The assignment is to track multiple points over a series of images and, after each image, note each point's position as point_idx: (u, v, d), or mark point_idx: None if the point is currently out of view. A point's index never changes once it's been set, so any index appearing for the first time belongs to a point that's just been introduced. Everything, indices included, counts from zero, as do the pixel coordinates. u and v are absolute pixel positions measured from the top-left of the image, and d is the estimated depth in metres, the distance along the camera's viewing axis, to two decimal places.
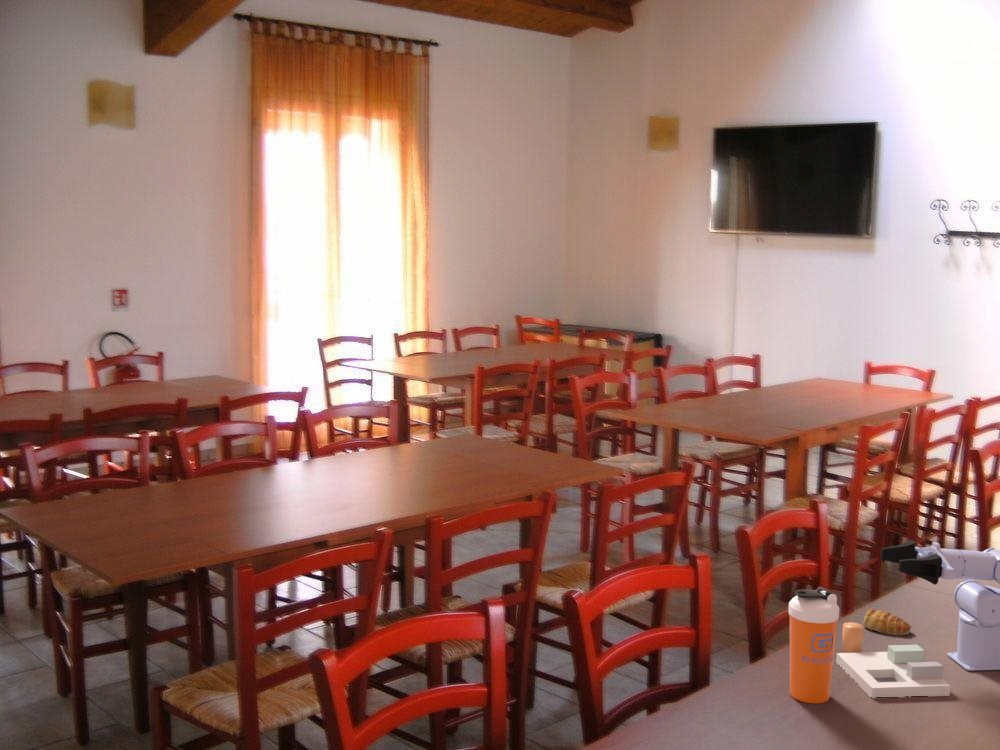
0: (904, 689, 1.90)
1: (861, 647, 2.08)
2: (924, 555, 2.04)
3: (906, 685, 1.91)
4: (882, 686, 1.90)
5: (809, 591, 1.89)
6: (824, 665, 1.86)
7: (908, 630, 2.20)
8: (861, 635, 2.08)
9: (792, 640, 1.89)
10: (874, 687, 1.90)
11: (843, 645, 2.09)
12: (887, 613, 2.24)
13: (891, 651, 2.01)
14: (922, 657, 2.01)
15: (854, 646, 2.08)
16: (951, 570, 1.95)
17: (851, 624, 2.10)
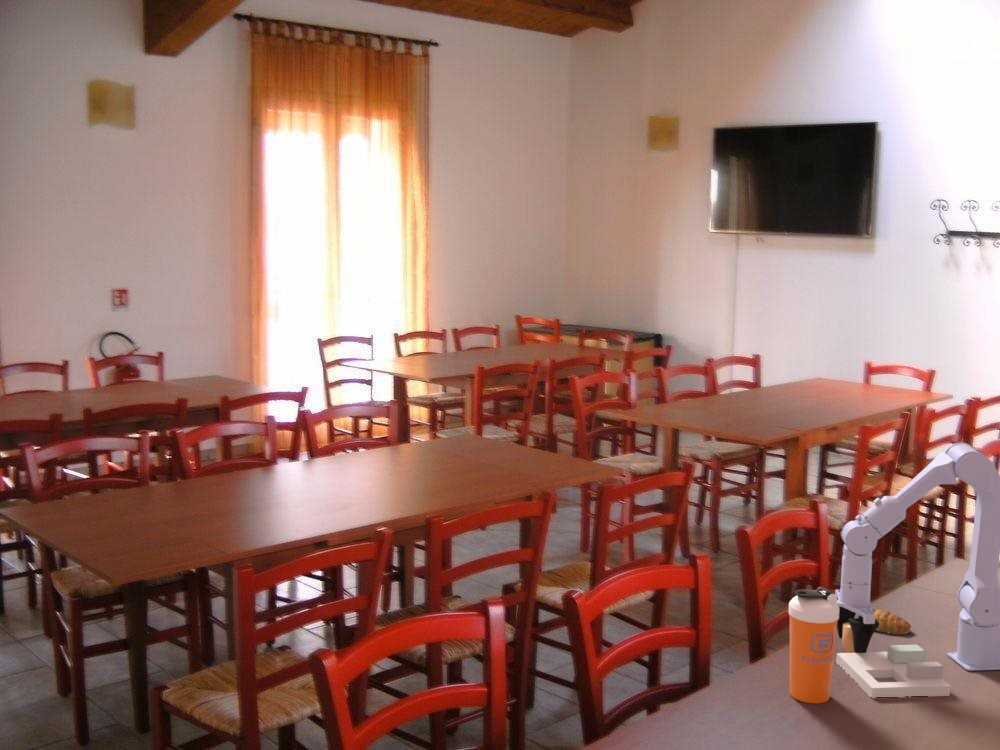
0: (904, 689, 1.90)
1: None
2: None
3: (906, 685, 1.91)
4: (882, 686, 1.90)
5: (809, 591, 1.89)
6: (824, 665, 1.86)
7: (908, 629, 2.21)
8: None
9: (792, 640, 1.89)
10: (874, 687, 1.90)
11: (843, 645, 2.09)
12: (887, 612, 2.24)
13: (891, 651, 2.01)
14: (922, 657, 2.01)
15: None
16: (866, 618, 2.01)
17: None
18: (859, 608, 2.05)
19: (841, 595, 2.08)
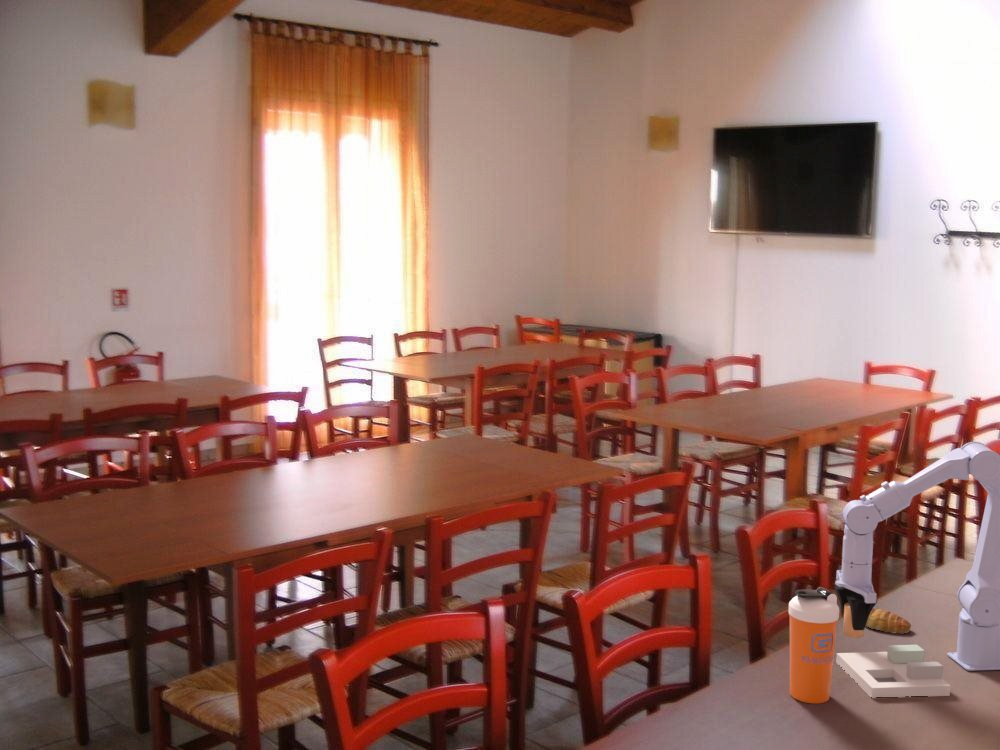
0: (904, 689, 1.90)
1: None
2: None
3: (906, 685, 1.91)
4: (882, 686, 1.90)
5: (809, 591, 1.89)
6: (824, 665, 1.86)
7: (909, 628, 2.21)
8: None
9: (792, 640, 1.89)
10: (874, 687, 1.90)
11: (844, 625, 2.09)
12: (887, 612, 2.25)
13: (891, 651, 2.01)
14: (922, 657, 2.01)
15: None
16: (867, 597, 2.01)
17: None
18: (860, 588, 2.05)
19: (842, 575, 2.08)
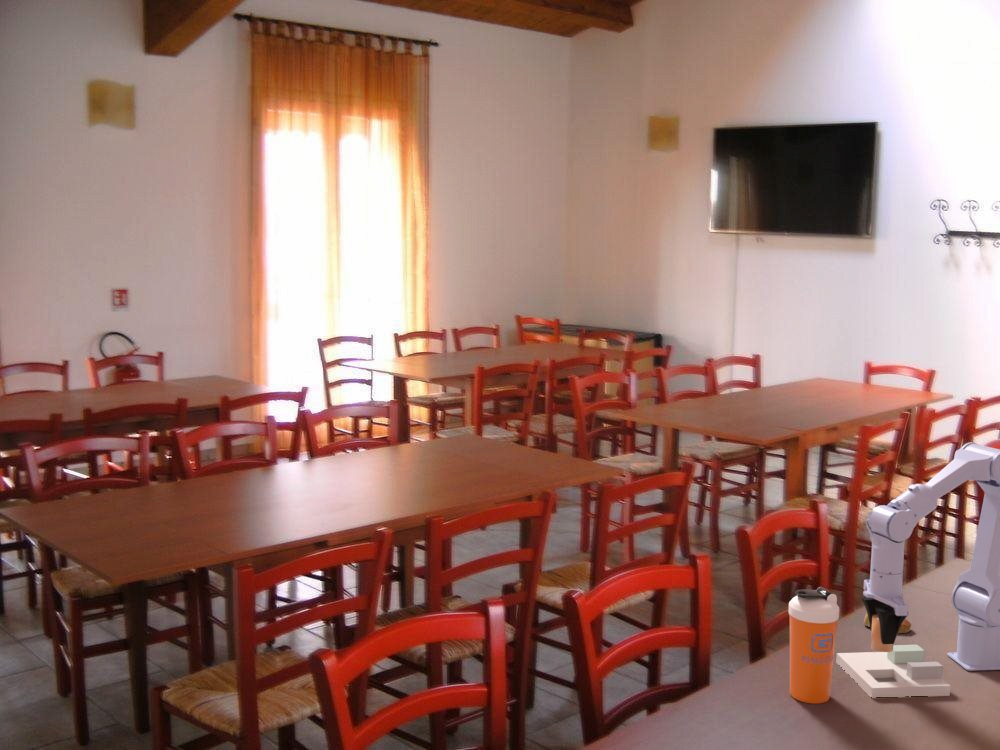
0: (904, 689, 1.90)
1: None
2: None
3: (906, 685, 1.91)
4: (882, 686, 1.90)
5: (809, 591, 1.89)
6: (824, 665, 1.86)
7: (909, 628, 2.21)
8: None
9: (792, 640, 1.89)
10: (874, 687, 1.90)
11: (872, 638, 1.96)
12: None
13: (891, 651, 2.01)
14: (922, 657, 2.01)
15: None
16: (898, 609, 1.88)
17: None
18: (890, 599, 1.92)
19: (871, 585, 1.95)
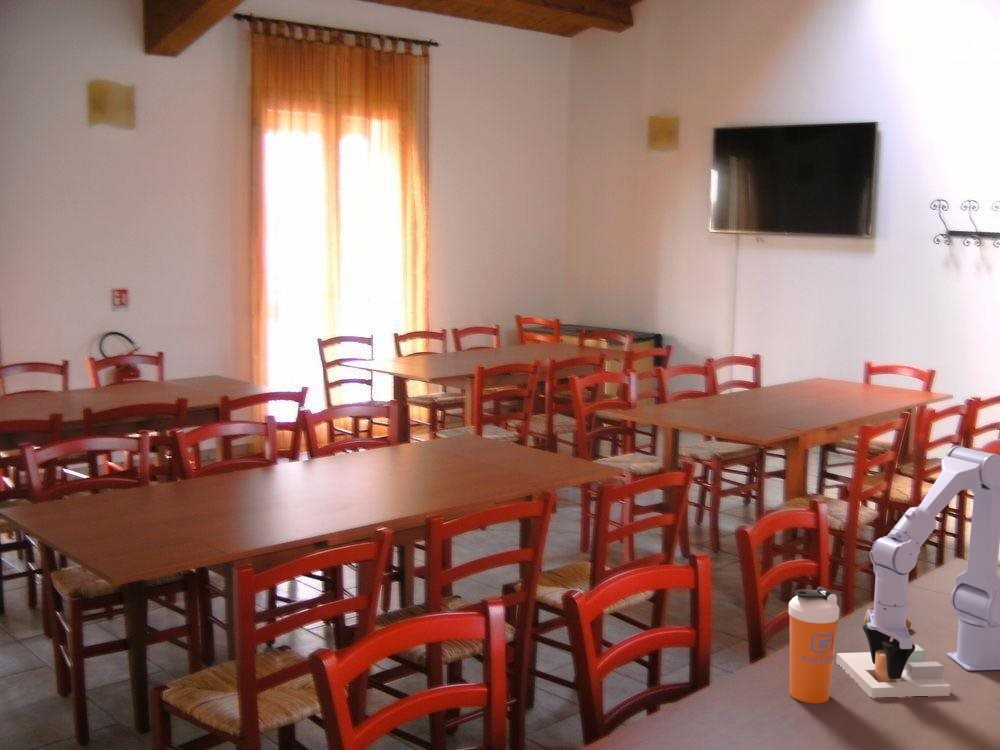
0: (904, 689, 1.90)
1: None
2: None
3: (906, 685, 1.91)
4: (882, 686, 1.90)
5: (809, 591, 1.89)
6: (824, 665, 1.86)
7: (909, 627, 2.22)
8: None
9: (792, 640, 1.89)
10: (874, 687, 1.90)
11: (876, 674, 1.95)
12: None
13: None
14: (922, 657, 2.01)
15: None
16: (903, 642, 1.86)
17: (884, 652, 1.95)
18: (894, 631, 1.90)
19: (874, 617, 1.93)
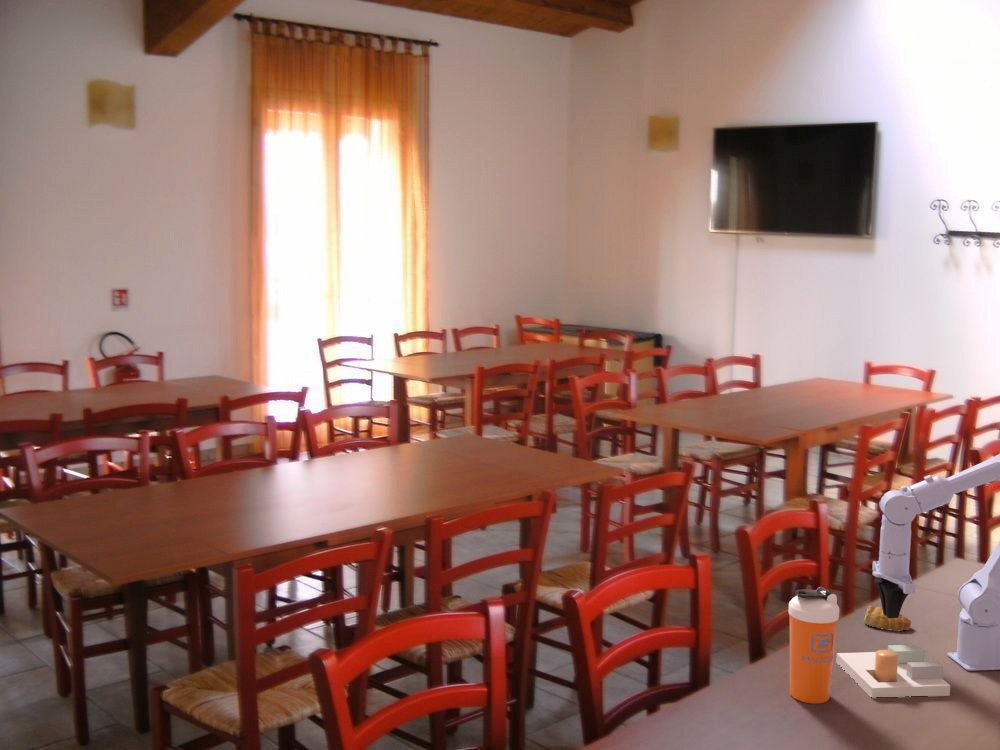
0: (904, 689, 1.90)
1: (895, 677, 1.94)
2: None
3: (906, 685, 1.91)
4: (882, 686, 1.90)
5: (809, 591, 1.89)
6: (824, 665, 1.86)
7: (909, 625, 2.23)
8: (895, 664, 1.93)
9: (792, 640, 1.89)
10: (874, 687, 1.90)
11: (876, 674, 1.95)
12: None
13: None
14: (922, 657, 2.01)
15: (888, 676, 1.93)
16: (906, 587, 2.00)
17: (884, 652, 1.95)
18: (898, 578, 2.04)
19: (880, 566, 2.06)
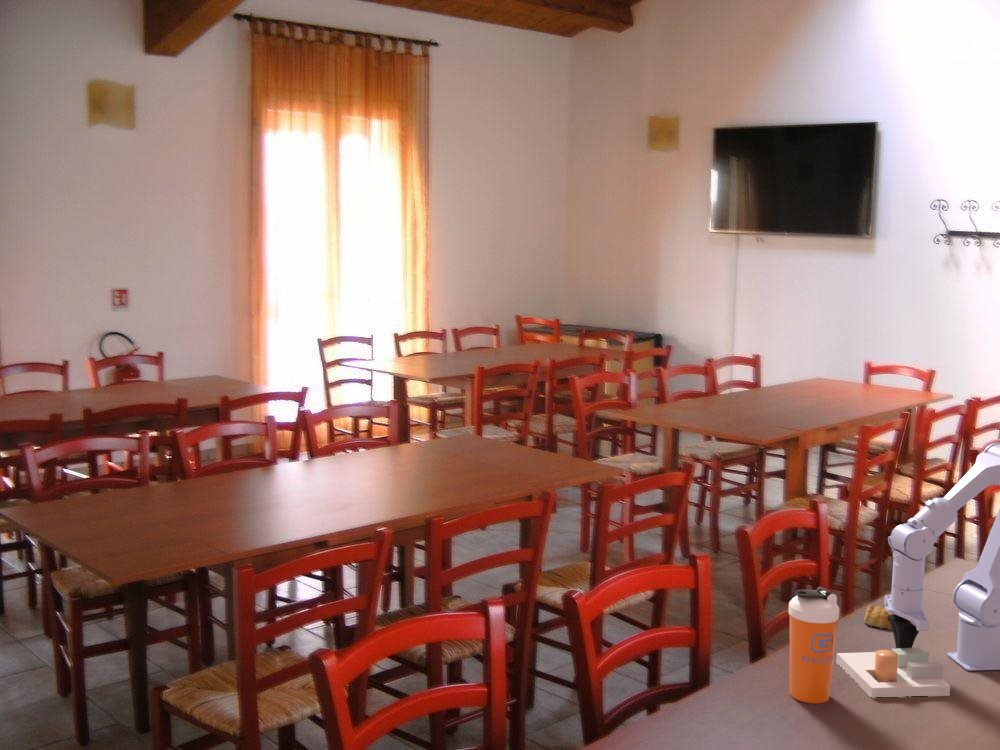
0: (904, 689, 1.90)
1: (895, 677, 1.94)
2: None
3: (906, 685, 1.91)
4: (882, 686, 1.90)
5: (809, 591, 1.89)
6: (824, 665, 1.86)
7: None
8: (895, 664, 1.93)
9: (792, 640, 1.89)
10: (874, 687, 1.90)
11: (876, 674, 1.95)
12: None
13: None
14: (926, 660, 1.99)
15: (888, 676, 1.93)
16: (920, 625, 1.94)
17: (884, 652, 1.95)
18: (911, 615, 1.98)
19: (892, 601, 2.01)
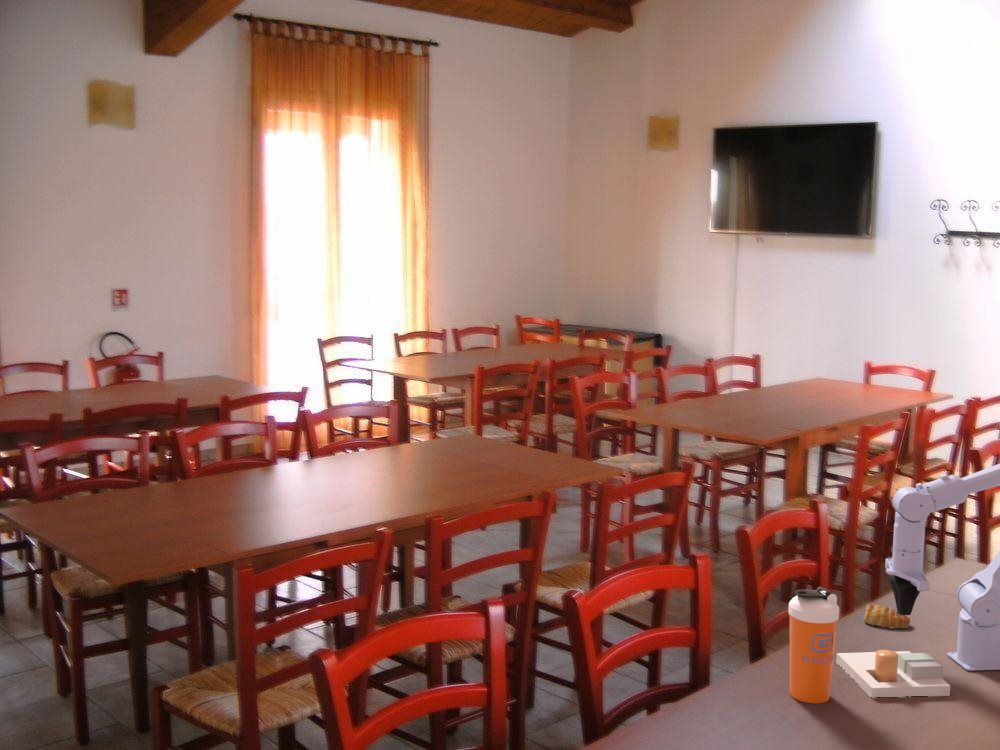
0: (904, 689, 1.90)
1: (895, 677, 1.94)
2: None
3: (906, 685, 1.91)
4: (882, 686, 1.90)
5: (809, 591, 1.89)
6: (824, 665, 1.86)
7: (908, 623, 2.24)
8: (895, 664, 1.93)
9: (792, 640, 1.89)
10: (874, 687, 1.90)
11: (876, 674, 1.95)
12: (886, 607, 2.27)
13: (901, 659, 1.97)
14: None
15: (888, 676, 1.93)
16: (920, 585, 1.98)
17: (884, 652, 1.95)
18: (912, 576, 2.02)
19: (893, 563, 2.05)
